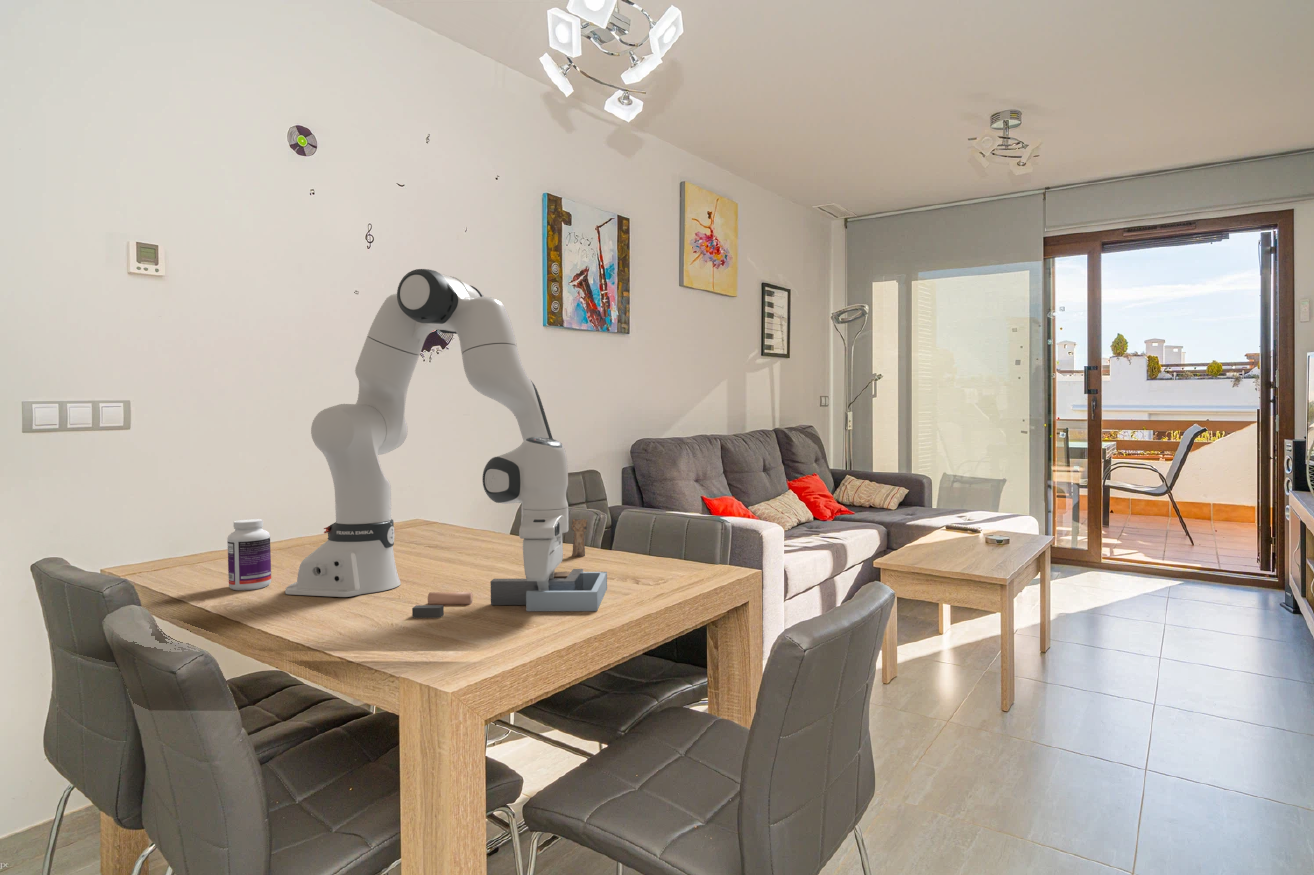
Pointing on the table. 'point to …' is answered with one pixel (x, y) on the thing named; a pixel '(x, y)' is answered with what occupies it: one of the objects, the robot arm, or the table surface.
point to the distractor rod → (450, 598)
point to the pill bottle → (249, 555)
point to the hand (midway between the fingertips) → (545, 595)
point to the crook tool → (531, 588)
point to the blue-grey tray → (571, 596)
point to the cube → (561, 574)
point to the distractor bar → (428, 611)
